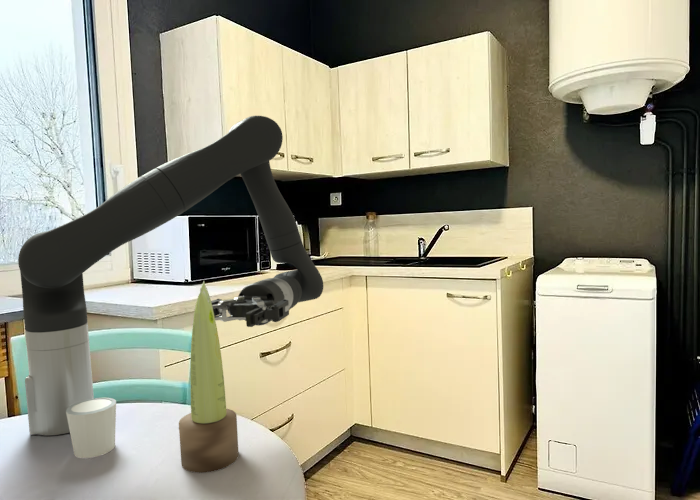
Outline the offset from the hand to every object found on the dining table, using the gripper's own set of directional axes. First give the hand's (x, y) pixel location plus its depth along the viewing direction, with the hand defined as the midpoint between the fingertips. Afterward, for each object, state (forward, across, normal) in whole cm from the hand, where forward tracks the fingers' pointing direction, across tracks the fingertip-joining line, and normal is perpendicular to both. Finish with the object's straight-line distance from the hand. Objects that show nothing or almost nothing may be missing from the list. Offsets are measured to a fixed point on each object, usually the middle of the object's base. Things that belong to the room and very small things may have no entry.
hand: (222, 319), depth 78 cm
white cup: (+7, -19, +19) cm, 28 cm away
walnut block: (+6, 0, +19) cm, 20 cm away
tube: (+6, 0, +13) cm, 15 cm away
